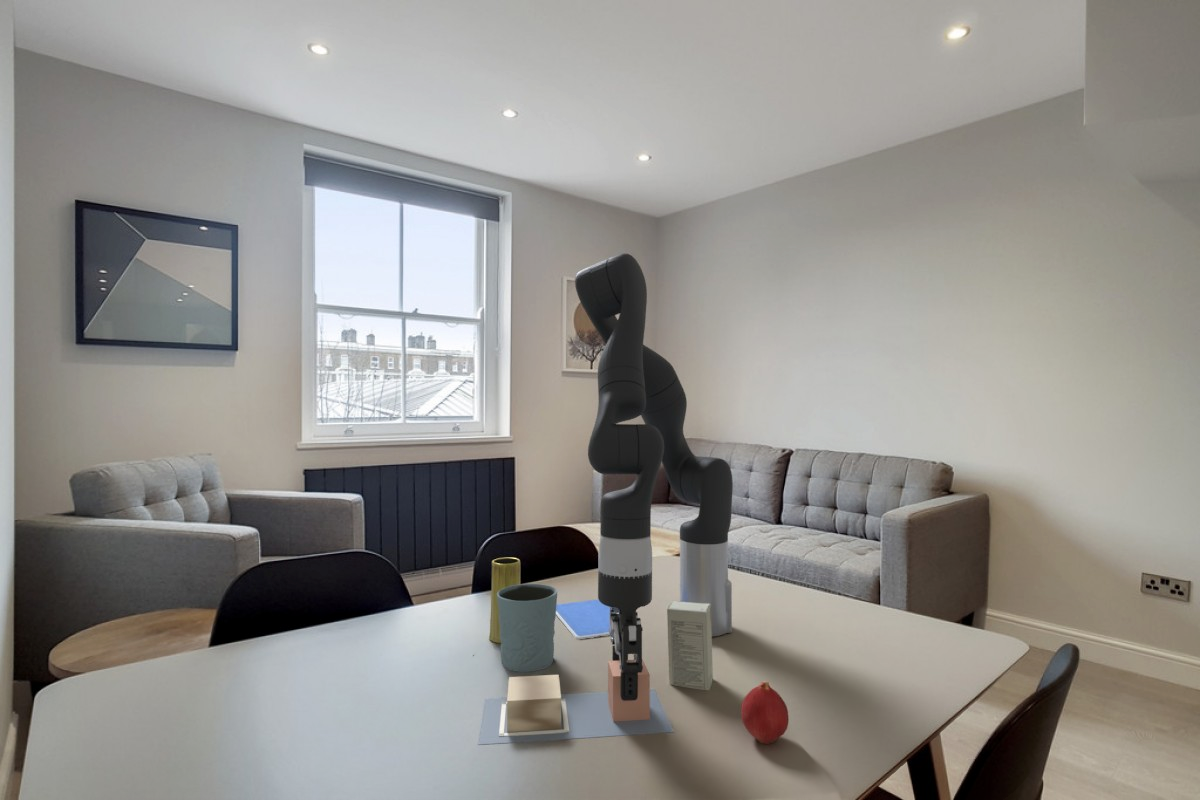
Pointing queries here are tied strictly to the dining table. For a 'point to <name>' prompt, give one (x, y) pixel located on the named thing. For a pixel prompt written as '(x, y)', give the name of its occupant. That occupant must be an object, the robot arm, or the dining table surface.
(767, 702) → the onion
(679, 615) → the skincare box
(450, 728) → the dining table surface
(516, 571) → the vase
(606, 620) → the tablet computer
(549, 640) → the grey-green pot
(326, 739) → the dining table surface
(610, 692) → the terracotta block
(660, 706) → the board
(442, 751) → the dining table surface
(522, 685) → the oak base block
